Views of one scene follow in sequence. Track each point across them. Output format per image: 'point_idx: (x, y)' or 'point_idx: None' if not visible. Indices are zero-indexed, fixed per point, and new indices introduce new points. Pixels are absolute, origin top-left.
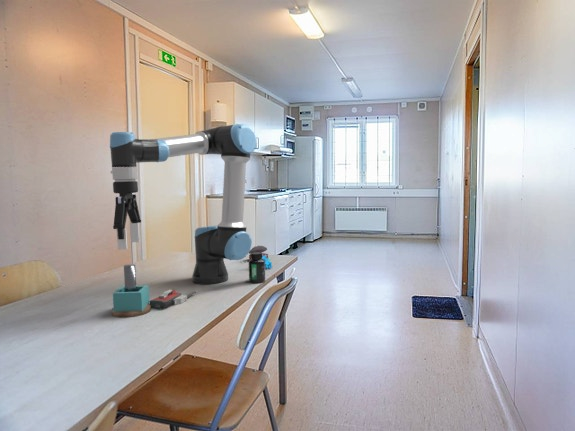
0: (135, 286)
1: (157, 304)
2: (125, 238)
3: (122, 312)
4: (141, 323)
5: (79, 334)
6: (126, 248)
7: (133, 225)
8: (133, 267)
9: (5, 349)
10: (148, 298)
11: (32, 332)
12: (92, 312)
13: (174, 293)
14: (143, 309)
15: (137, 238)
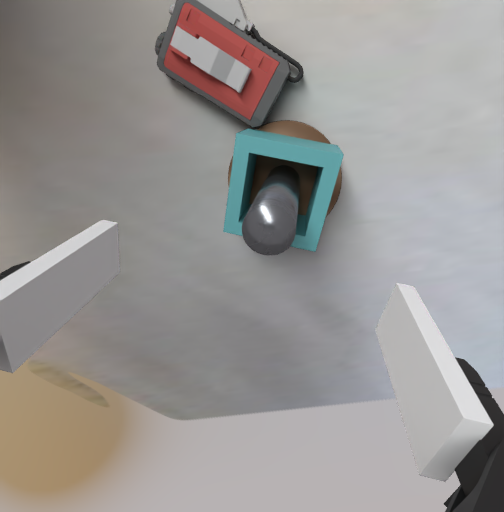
0: (287, 182)
1: (277, 95)
2: (441, 345)
3: (332, 204)
4: (421, 138)
5: (434, 286)
6: (415, 291)
7: (22, 330)
8: (287, 209)
9: None
10: (254, 131)
11: (368, 366)
12: (261, 277)
13: (188, 26)
14: (324, 141)
15: (102, 242)
